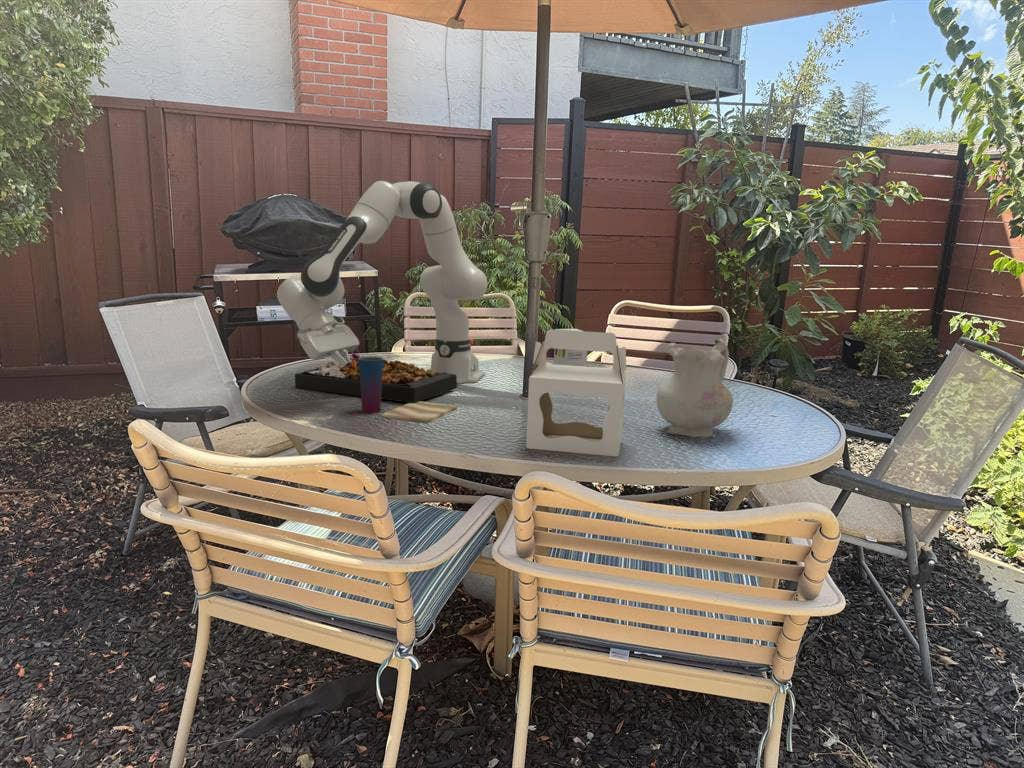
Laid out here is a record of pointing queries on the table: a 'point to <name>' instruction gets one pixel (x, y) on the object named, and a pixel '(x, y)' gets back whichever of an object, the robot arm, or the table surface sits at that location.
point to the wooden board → (420, 411)
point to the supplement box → (570, 355)
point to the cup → (371, 383)
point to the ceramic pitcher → (696, 391)
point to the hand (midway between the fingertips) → (347, 364)
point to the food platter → (396, 380)
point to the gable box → (577, 384)
